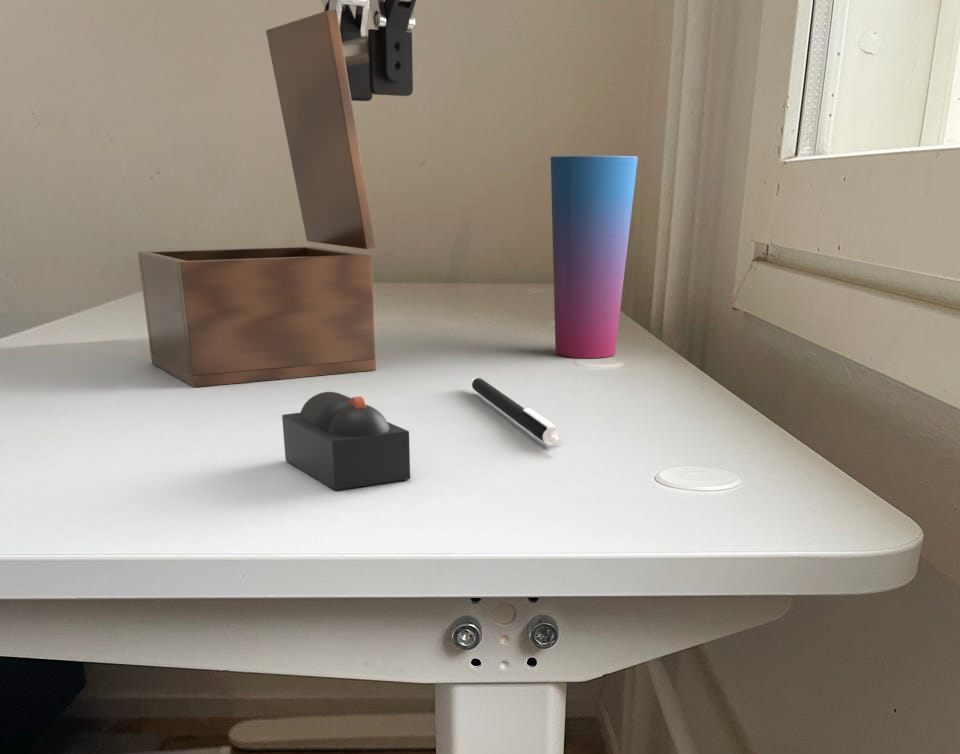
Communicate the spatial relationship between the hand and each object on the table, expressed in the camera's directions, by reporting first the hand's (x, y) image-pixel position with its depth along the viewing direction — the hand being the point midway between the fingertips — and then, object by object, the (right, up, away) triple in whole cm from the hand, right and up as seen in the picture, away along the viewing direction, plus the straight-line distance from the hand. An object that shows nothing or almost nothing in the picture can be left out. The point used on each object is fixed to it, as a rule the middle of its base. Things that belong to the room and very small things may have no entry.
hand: (371, 95), depth 76 cm
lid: (-4, -4, -1) cm, 6 cm away
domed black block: (+1, -32, -25) cm, 41 cm away
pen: (+10, -27, -13) cm, 32 cm away
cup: (+17, -17, +10) cm, 26 cm away
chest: (-9, -20, +3) cm, 22 cm away
